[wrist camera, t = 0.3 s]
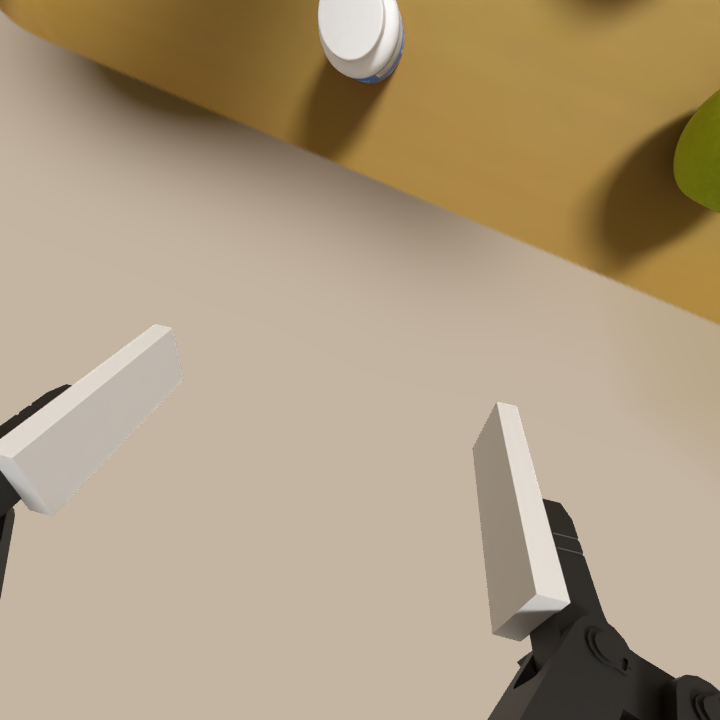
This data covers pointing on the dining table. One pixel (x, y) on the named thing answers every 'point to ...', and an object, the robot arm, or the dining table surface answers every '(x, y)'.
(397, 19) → the pill bottle
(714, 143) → the fruit
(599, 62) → the dining table surface
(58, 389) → the robot arm
